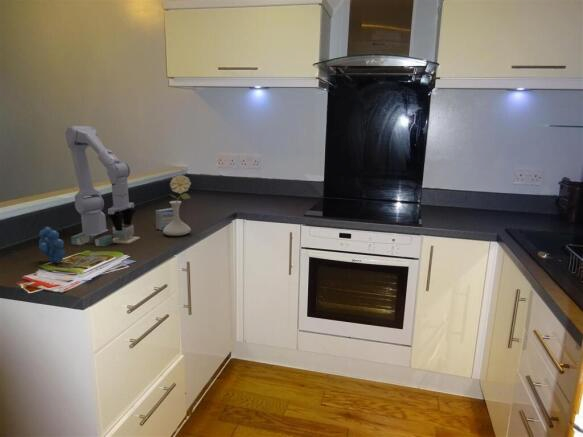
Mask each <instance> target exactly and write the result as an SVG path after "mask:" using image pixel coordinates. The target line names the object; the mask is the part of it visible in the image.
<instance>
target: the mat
mask: <svg viewBox="0 0 583 437" xmlns="http://www.w3.org/2000/svg"><path fill="white" fill-rule="evenodd" d="M140 238H141V237H140V236H133V235H132V236H130V237H128V238H116V237H113V243H112V244H115V243H116V244H125V245H126V244H128V245H129V244H131V243H134V242H135V241H137V240H140Z"/></svg>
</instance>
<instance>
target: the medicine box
mask: <svg viewBox="0 0 583 437" xmlns="http://www.w3.org/2000/svg"><path fill="white" fill-rule="evenodd" d="M154 212H155V223H156V224H155V225H156V230H158V229H159V231H161V230H163V229H164V228H165V227H166V226H167V225H168V224H169V223H170V222H171V221H172V220H173V209H172V207H169V208H163V209H156V210H155V211H154Z"/></svg>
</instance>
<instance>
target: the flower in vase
mask: <svg viewBox="0 0 583 437" xmlns="http://www.w3.org/2000/svg"><path fill="white" fill-rule="evenodd" d="M191 185H192V182H191V180H190V178H189V177H187V176H185V175H182V174H179V175H176V176H175V177H172V179H171V180H170V183H169V187H170V189H171V191H172V192H174V193H177V194H180V195H179V197H176V196H175V195H172V194H170V196H171V197H173V198H175V199H177V200H171V201H169V202H168V203H169V204H170V205H171V208H172V209H173V220H172V221H171V222H170V223H169V224H168V225H167V226H166V227H165V228H164V229H163V231H162V233H163V234H164V235H166V236H171V237H175V236H176V237H177V236H184V235H187V234H189V233H190V232H191V231H192V228H191V227H190V226H189V225H188V224H186V223H185V222H184V221H182V220H181V218H180V206H181V204H182V201H181V200H179V199H180V198H182V199H183V200H188V199H191V198H192V197H191V196H190V195H189V194H188V193H186V192H188V191H189V190H190V187H191Z"/></svg>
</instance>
